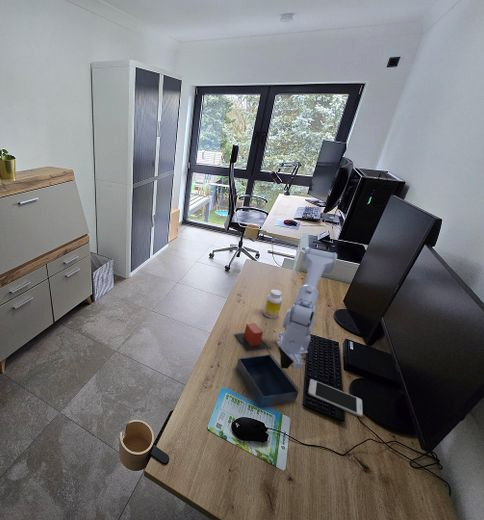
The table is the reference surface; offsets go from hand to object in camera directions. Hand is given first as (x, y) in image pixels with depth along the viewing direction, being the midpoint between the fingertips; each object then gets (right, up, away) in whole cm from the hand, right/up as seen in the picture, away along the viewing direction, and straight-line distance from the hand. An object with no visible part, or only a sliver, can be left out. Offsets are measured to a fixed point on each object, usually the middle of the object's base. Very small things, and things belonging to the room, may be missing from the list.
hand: (284, 366), depth 101 cm
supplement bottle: (+13, +11, +39) cm, 43 cm away
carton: (-6, -7, +3) cm, 10 cm away
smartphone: (+16, -10, -2) cm, 19 cm away
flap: (-2, 0, 0) cm, 2 cm away
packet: (-3, +3, +22) cm, 22 cm away
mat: (-3, +2, +22) cm, 23 cm away
